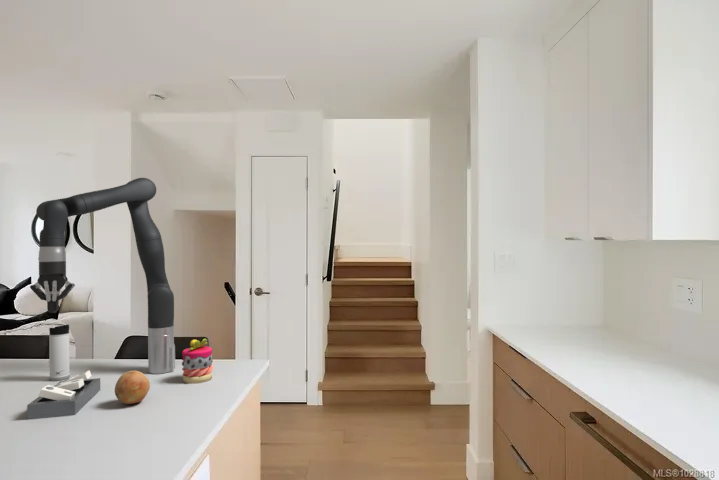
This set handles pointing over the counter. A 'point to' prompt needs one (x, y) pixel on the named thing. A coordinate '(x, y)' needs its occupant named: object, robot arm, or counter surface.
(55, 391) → the rocker
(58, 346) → the travel mug
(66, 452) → the counter surface
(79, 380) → the rocker middle
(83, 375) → the rocker
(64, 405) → the power strip
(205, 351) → the cake
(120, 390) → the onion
